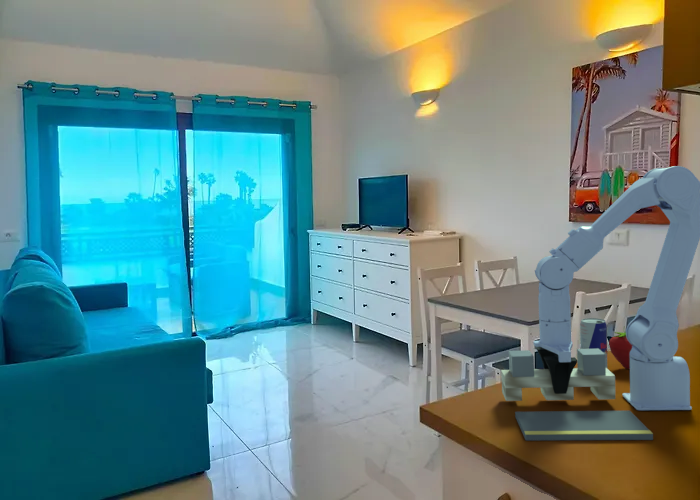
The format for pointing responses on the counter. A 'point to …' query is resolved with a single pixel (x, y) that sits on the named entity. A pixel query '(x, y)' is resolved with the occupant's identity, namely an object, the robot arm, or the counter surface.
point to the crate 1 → (521, 363)
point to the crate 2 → (591, 362)
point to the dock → (582, 425)
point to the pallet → (542, 379)
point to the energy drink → (594, 335)
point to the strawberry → (621, 349)
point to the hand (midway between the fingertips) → (556, 388)
